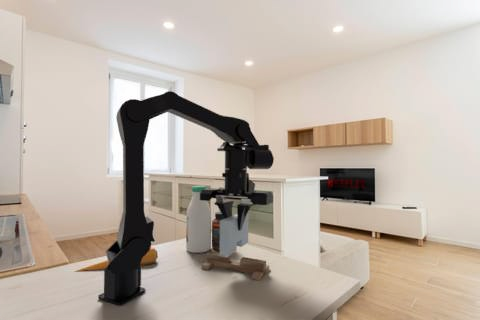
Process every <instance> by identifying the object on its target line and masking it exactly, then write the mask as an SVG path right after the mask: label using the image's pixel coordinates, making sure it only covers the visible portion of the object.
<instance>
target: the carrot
mask: <svg viewBox="0 0 480 320" xmlns="http://www.w3.org/2000/svg"><path fill="white" fill-rule="evenodd" d="M158 258H159V257H158V250H156V248H155V247H152V246H151V248H150V251H149V252H148V253H147V254H146V255H145V256H143V258H142V261H141V263H140V266H143V265H151V264H155V263H156V262H157V259H158ZM108 265H109V263H108V259H106V260H102V261H99V262H97V263H94V264H92V265H89V266H86V267H81V268H79V269H77V270H76V272H85V271H84V270H88V271H98V269H99V270H104V268H106V267H107V266H108Z"/></svg>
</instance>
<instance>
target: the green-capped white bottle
mask: <svg viewBox="0 0 480 320" xmlns="http://www.w3.org/2000/svg"><path fill="white" fill-rule="evenodd" d="M203 189H208V188H207V186H206V185H193V186H192V187H191V194H192V197H191V200H190V202H189V205H188V208H187V210H186V226H185V227H186V231H185V233H186V234H185V237H186V238H185V239H186V240H185V242H186V243H185V244H186V245H185V248H186V251H187V252H189V253H194V254H200V253H205V252H210V250H211V248H212V210H211V207H210V204H209V201H203V200H200V192H201V191H202V190H203Z"/></svg>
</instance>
